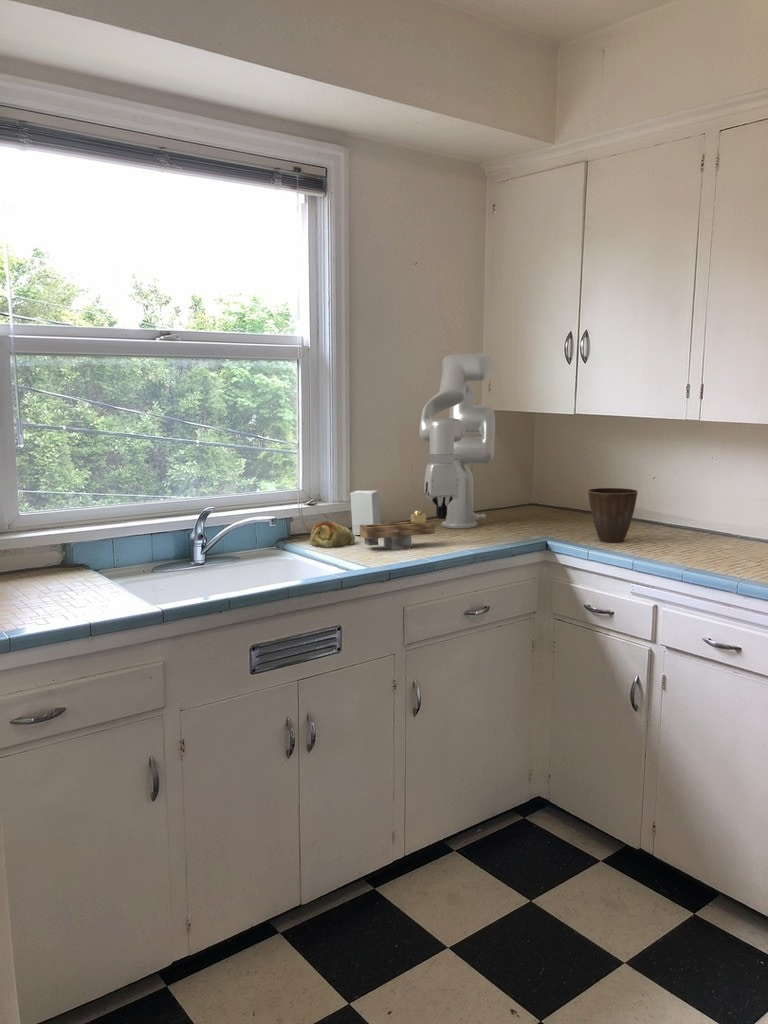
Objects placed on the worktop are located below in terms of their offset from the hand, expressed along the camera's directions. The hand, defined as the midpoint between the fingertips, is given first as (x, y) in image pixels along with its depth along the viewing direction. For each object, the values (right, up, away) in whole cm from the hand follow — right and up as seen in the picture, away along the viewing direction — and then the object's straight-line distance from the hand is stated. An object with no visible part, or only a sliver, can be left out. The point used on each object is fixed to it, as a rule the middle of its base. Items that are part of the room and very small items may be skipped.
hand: (441, 518), depth 254 cm
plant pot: (+54, -7, +3) cm, 54 cm away
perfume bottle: (-7, -3, -2) cm, 8 cm away
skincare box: (-24, -6, +18) cm, 31 cm away
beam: (-14, -9, -4) cm, 17 cm away
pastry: (-35, -9, +2) cm, 36 cm away
